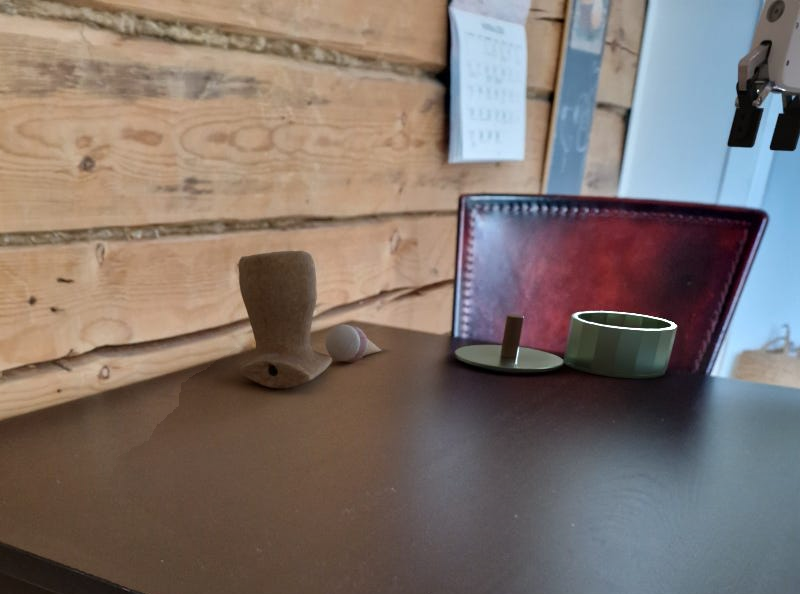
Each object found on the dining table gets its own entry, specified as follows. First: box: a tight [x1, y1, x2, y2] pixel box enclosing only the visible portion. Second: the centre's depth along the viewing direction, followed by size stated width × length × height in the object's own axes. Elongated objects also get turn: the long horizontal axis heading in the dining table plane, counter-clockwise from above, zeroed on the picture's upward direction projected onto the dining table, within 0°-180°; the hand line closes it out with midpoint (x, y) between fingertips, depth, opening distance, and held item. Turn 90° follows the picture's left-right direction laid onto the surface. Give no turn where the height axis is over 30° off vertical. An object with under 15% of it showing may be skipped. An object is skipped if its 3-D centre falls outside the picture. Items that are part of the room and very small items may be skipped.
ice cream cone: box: [325, 324, 383, 363], centre depth 121 cm, size 5×5×15 cm
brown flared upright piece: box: [237, 250, 333, 389], centre depth 106 cm, size 15×12×15 cm
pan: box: [563, 310, 678, 380], centre depth 124 cm, size 14×14×6 cm
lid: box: [454, 313, 564, 375], centre depth 122 cm, size 15×15×7 cm
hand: (761, 148), depth 105 cm, fingers open, 9 cm apart
